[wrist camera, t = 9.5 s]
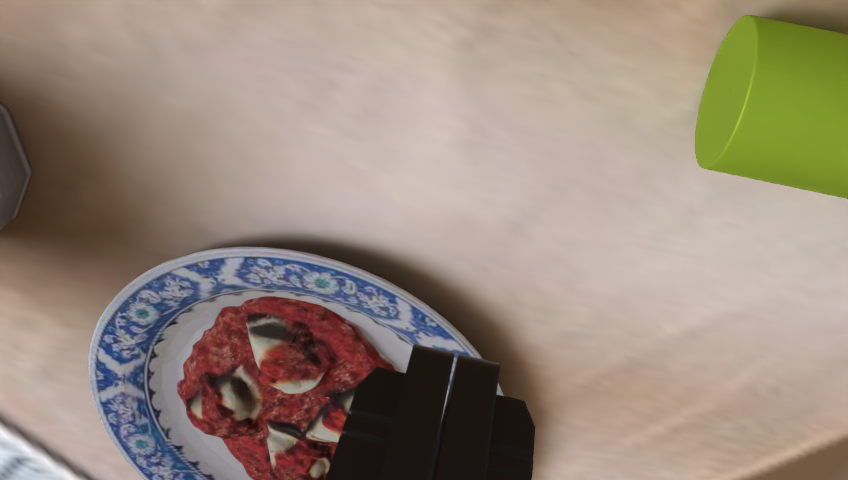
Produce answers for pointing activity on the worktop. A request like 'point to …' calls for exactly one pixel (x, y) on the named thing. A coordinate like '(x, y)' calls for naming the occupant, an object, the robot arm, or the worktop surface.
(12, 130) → the can
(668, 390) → the worktop surface
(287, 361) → the ceramic plate
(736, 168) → the soap dispenser
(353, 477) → the robot arm
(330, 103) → the worktop surface
